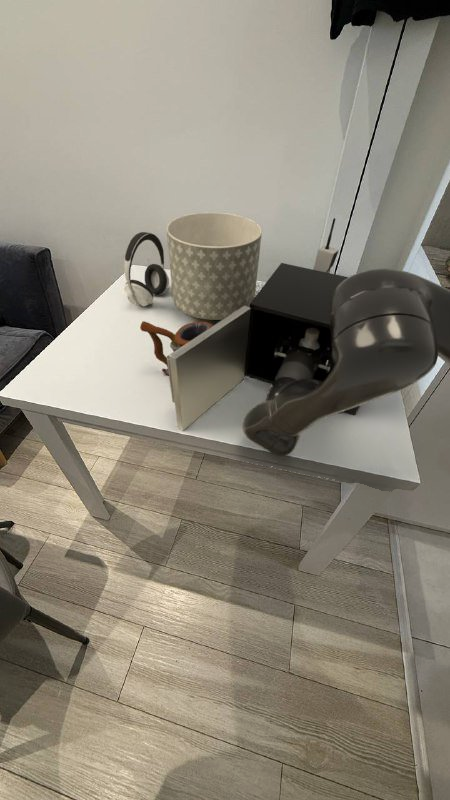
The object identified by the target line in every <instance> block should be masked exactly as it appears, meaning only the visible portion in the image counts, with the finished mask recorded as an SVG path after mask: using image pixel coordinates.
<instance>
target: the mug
mask: <svg viewBox="0 0 450 800" xmlns="http://www.w3.org/2000/svg"><path fill="white" fill-rule="evenodd" d="M212 326H214V325H213V324H212V323H211V322H208V321H201V320H200V321H195V322H188V323H186V324H184V325H182V326H181V327H180V328H178V330H177V331H176V332H175V333H174V332H172V331H170V330H168V329H166V328H163V327H159V326H156V325H155V324H152V323H150V322H147V321H142V322H141V324H140V327H139V328H140V331H141V332H145V333H148V335H149V336H150V339H151V340H152V342H153V349H154V350H153V353H154V355H155V358H156V359H157V360H158V361H160V362H162V363H163V364H164V365H166V367H167V368H161V372H162V373H163V374H164V375H166V376H169V370H168V362H167V355H165V354H164V345H163V344H164V343H163V342H162V339H161V338H160V336H164V337H166V338H168V339H169V340H170V341H171V342H170V344H169V347H170V349H171V350H172V351H173V352H174V351H176V350H177V349H179V348H180V347H182V346H183V345H185V344H187V343H188V342H190V341H191V340H193V339H194V338H196V337H197V336H199V335H200V334H202V333H203V332H205V331H206V330H208V329H209V328H211V327H212ZM158 335H160V336H158Z"/></svg>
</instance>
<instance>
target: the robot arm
mask: <svg viewBox="0 0 450 800" xmlns="http://www.w3.org/2000/svg"><path fill="white" fill-rule="evenodd" d="M348 277H349V278H347V279H345V280H344V281H343V282H342V283H341V284H340V285H338V287H337V288H336V289H335V291H334V293H333V295H332V298H331V304H330V329H331V339H329V340H328V343H327V345H326V348H323V349H322V348H318V349H316V350H314V349H311V348H306V347H304V346H299V345H298V343H297V341H295V339H296V337H297V333H298V330H296V329H295V331H292V332H291V333H290V335H289V336H288V337H287V338H285V337H284V336H280V337H279V340H278V342H277V344H276V346H275V350H274V357H275V358H278V357H279V356H282V357H285V359H284V361H283V363H282V365H281V367H280V369H279V371H278V373H277V375H276V377H275V381H274V383H273V385H272V384H271V385H272V386H271V387H270V389H269V392H268V394H267V396H266V399H265V401H263V402H261V403H259V404H256V405H255V406H254V407H252V408H251V409H250V410H249V411H248V412H247V414H245V417H244V418H243V421H242V432H243V434H244V436H245V437H246V438H247V439H248V440H250V441H251V442H253V443H255V444H256V445H258V446H259V447H261V448H263V449H264V450H266V451H267V452H269V453H271V454H273V455H274V456H277V457H286V456H288V455H290V454H291V453H292V452H294V450H295V449H296V447H297V445H298V444H299V441H300V435H301V434H302V433H304V432H305V431H307V430H308V429H309V428H311V427H313V426H314V425H315V424H317V423H318V422H320V421H322V420H324V419H325V418H329V417H331V416H333V415H336V414H339V413H342V412H343V411H345V410H348V409H351V408H354V407H357V406H362V405H365V404H368V403H370V402H373V401H376V400H378V399H381V398H383V397H384V398H385V397H386V396H389V395H392V394H394V393H397V392H398V391H402V390H404V389H406V388H407V387H410V386H412V385H414V384H416V383H417V382H419V381H420V380H421V379H423V378H425V377H426V376H427V375H428V374H429V373H431V371H433V369H434V368H435V366H436V364H437V361H438V358H440V359H441V360H442V361H443V362H445V364H447V365H448V366H449V367H450V289H448V288H446V287H443V286H442V285H440V284H437V283H436V282H434V281H432V280H429V279H427V278H426V277H425V278H424V277H422V276H421V275H418V274H415V273H412V272H409V271H405V270H401V269H395V268H394V269H393V268H373V269H369V270H368V269H367V270H363V271H360V272H357V273H354V274H352V275H350V276H348ZM283 345H286V346H287V348H288V350H287V351H286V352H285V351H284V349H283ZM328 357H329V358H330V360H329V359H327V361H325V362H322V360H323V359H326V358H328ZM319 367H320V368H323V369H326V370H325V372H326V373H329V375H328V376H327V377H326V379H325V380H324V381H320V380H315V379H313V377H314V375H315V372H316V370H317V369H318V368H319ZM343 413H344V412H343Z"/></svg>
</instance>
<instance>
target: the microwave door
mask: <svg viewBox="0 0 450 800" xmlns="http://www.w3.org/2000/svg"><path fill="white" fill-rule="evenodd" d="M250 311H251V308H249V307H247V306H243V307H241V308H240V309H238V310H237V311H235V312H234V313H232V314H231V315H229V316H228V317H226V318H225V319H221V320H220V321H218V322H217V323H216V324H214V325H213V326H212V327H211V328H209V329H208V330H206V331H205V332H203V333H202V334H200V335H199V336H197V337H196V338H194V339H193V340H191V341H190V342H188V343H187V344H185V345H183V346H182V347H180V348H179V349H177V350H176V351H173V352H171V353H170V354H168V355H166V357H167V362H168V367H167V369H168V370H169V375H168V377H169V386H170V393H171V394H170V395H171V401H172V403H174V407H175V416H176V424H177V428H178V429H179V430H181V431H182V432H184V431H185V430H187V428H188V427H189V426H191V425H192V424H193V423H194V422H195V421H197V420H198V419H199V418H200V417H201V416H203V414H205V413H206V412H207V411H208V410H209V409H210V408H211V407H213V406H214V405H215V404H216V403H218V402H219V401H220V400H221V399H222V398H223V397H224V396H225V395H227V394H228V393H229V392H231V391H232V390H233V389H234V388H235V387H236V386H237V385H238V384H239V383H241V382H242V381H243V380H244V379H245V376H244V372H245V362H246V352H247V341H248V331H249V321H250Z"/></svg>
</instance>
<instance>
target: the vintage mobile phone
mask: <svg viewBox="0 0 450 800" xmlns="http://www.w3.org/2000/svg"><path fill="white" fill-rule="evenodd" d="M335 223H336V218H335V217H333V219H332V223H331V226H330V231H329V235H328V236H327V241H326V245H323V246H321V247H320V248H318V249H317V253H316V257H315V261H314V266H313V270H317V271H322V272H326V273H330V272H331V269H332V267H334V265H335V262H336V259H337V256H338V254H339V251H340V250H339V249H337V248H335V247H331V246H330V244H331V240H332V236H333V235H332V234H333V231H334V227H335Z"/></svg>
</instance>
